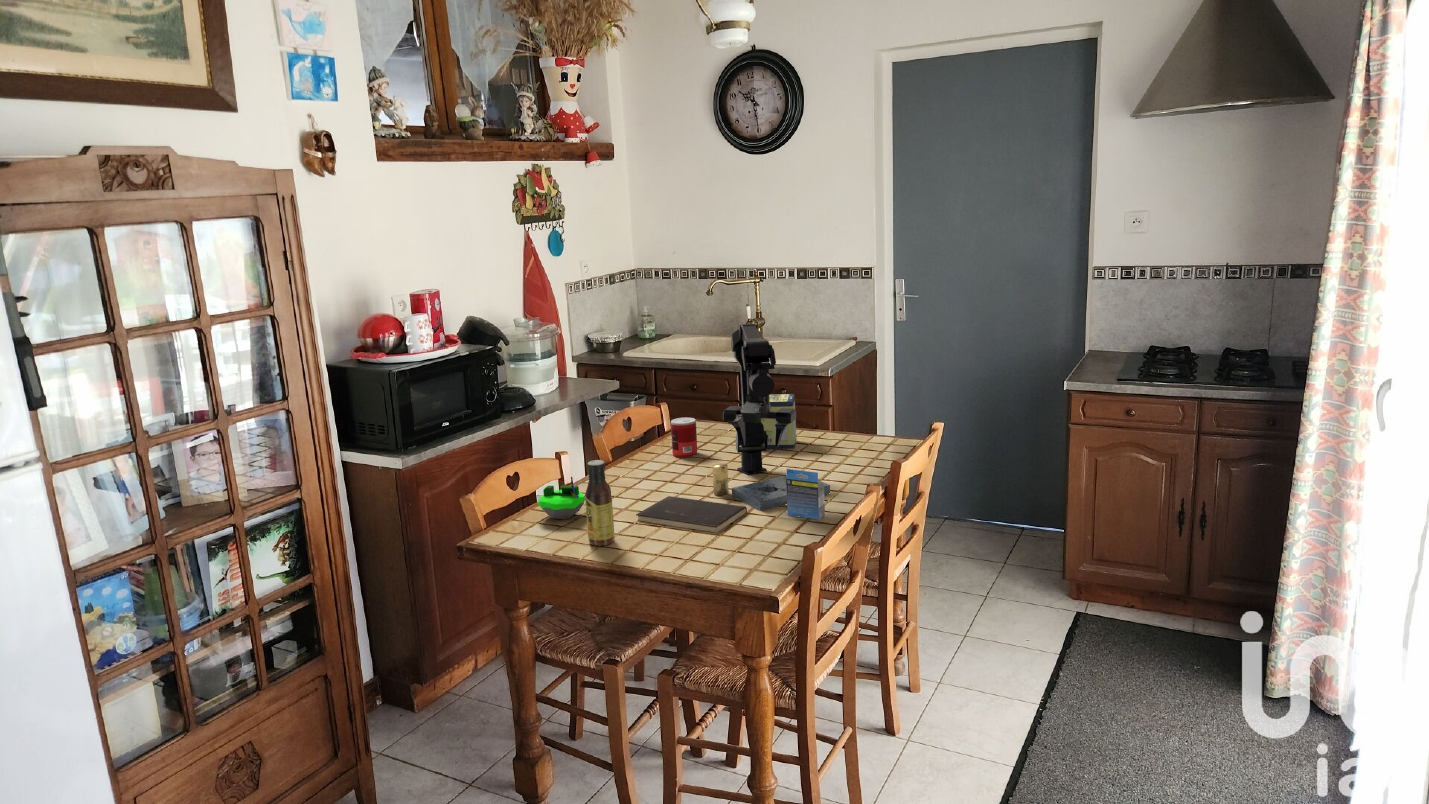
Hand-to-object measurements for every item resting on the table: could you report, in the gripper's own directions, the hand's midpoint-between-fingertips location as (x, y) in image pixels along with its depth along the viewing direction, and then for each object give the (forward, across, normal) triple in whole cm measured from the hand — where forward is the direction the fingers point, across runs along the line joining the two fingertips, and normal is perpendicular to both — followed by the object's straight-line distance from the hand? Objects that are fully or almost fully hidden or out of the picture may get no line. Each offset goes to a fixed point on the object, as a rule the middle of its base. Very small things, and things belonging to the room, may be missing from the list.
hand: (760, 446), depth 250 cm
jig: (+13, +5, 0) cm, 14 cm away
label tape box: (+13, +16, -14) cm, 25 cm away
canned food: (+14, -35, +32) cm, 50 cm away
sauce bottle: (+13, -26, -43) cm, 52 cm away
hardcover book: (+14, -12, -21) cm, 28 cm away
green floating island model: (+14, -44, -29) cm, 55 cm away
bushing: (+13, -11, -2) cm, 17 cm away
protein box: (+14, -12, +48) cm, 52 cm away
